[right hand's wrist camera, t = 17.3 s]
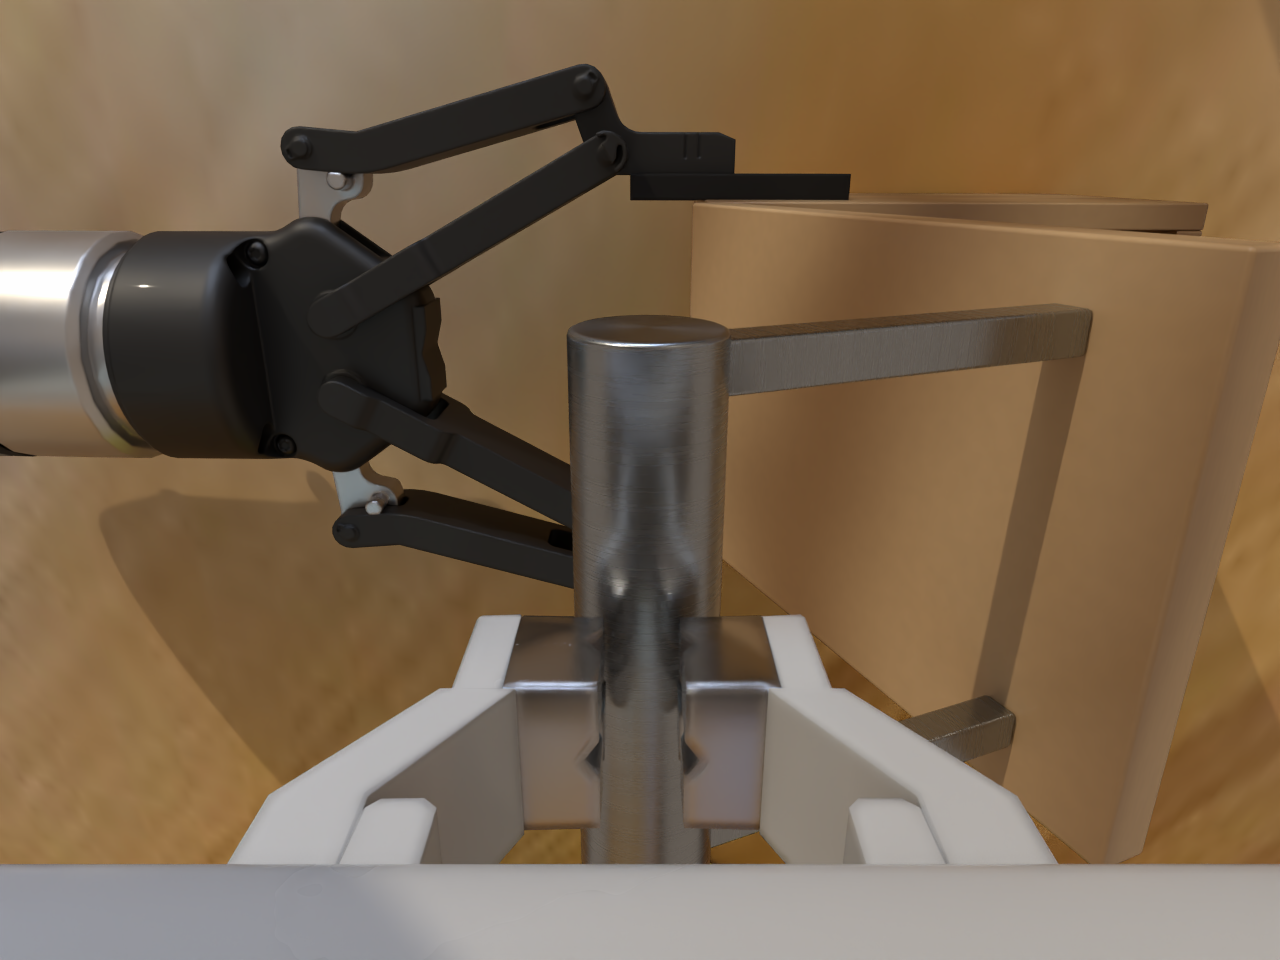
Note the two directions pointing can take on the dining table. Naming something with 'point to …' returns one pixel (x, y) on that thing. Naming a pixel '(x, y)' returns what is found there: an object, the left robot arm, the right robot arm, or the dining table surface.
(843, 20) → the dining table surface
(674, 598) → the lid
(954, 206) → the chest
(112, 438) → the left robot arm
